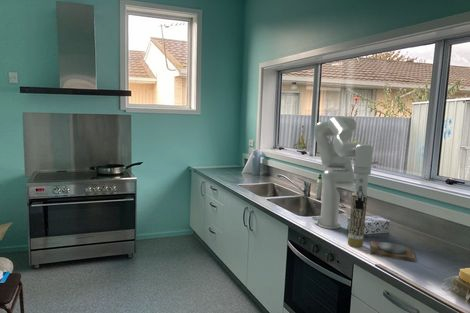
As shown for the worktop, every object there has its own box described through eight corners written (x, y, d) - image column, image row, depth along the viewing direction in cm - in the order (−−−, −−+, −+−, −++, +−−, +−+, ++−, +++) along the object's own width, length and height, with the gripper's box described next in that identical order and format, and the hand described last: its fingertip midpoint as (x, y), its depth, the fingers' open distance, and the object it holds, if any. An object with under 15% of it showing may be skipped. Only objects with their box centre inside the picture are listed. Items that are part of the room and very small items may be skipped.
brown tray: (370, 254, 162) (371, 248, 162) (370, 243, 176) (370, 238, 176) (414, 261, 156) (415, 256, 156) (411, 250, 170) (411, 245, 170)
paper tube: (350, 241, 178) (355, 191, 175) (364, 245, 174) (369, 194, 171) (345, 245, 173) (349, 193, 170) (359, 249, 168) (364, 196, 165)
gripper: (370, 173, 159) (367, 211, 161) (370, 169, 176) (367, 204, 177) (352, 172, 162) (349, 209, 164) (354, 168, 178) (351, 202, 180)
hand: (359, 206), depth 170 cm, fingers open, 9 cm apart
